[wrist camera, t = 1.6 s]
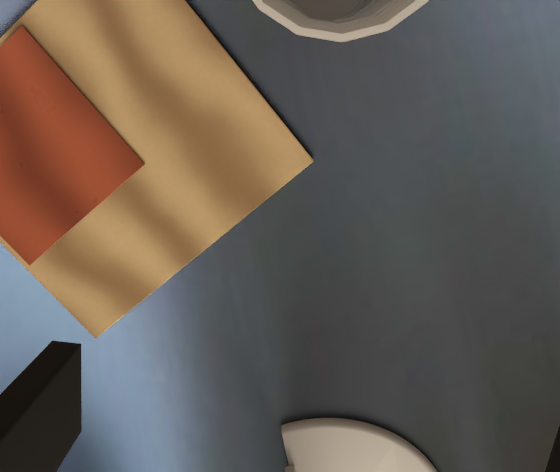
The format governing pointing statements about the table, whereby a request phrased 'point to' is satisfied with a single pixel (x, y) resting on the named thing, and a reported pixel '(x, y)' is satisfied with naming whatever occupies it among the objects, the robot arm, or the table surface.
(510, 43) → the table surface
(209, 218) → the corner board
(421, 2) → the plastic cup
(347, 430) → the ornament
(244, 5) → the table surface
